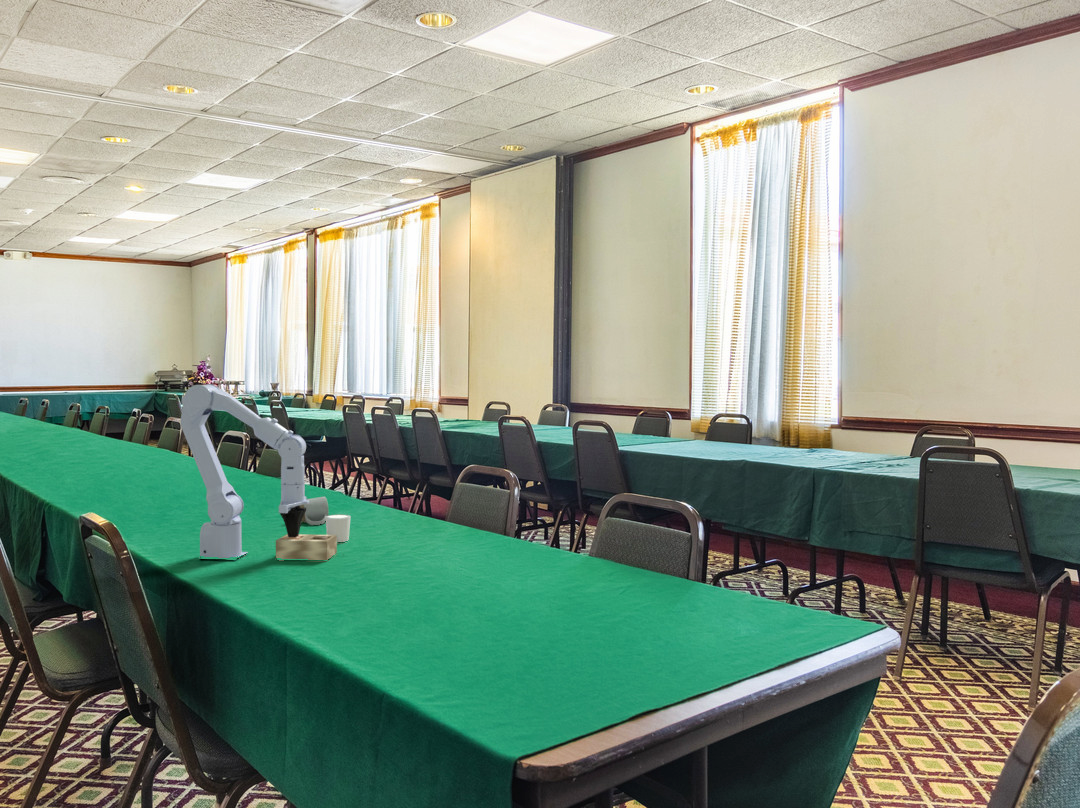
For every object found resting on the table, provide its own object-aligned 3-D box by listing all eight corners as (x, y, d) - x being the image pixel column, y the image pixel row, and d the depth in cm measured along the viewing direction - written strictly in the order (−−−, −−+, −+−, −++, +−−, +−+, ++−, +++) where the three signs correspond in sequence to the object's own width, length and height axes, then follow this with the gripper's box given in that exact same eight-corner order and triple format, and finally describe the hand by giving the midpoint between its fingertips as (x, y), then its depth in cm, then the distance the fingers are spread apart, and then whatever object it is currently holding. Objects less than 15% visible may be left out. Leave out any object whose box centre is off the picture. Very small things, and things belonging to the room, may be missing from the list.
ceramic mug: (297, 520, 265) (297, 496, 265) (324, 518, 269) (324, 494, 268) (304, 527, 256) (304, 502, 255) (331, 525, 259) (331, 500, 259)
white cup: (354, 539, 238) (354, 514, 238) (346, 544, 231) (346, 518, 231) (330, 538, 239) (330, 513, 238) (321, 543, 232) (321, 518, 232)
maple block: (275, 560, 212) (275, 540, 211) (287, 553, 219) (287, 534, 219) (327, 561, 211) (327, 541, 211) (336, 554, 219) (336, 535, 218)
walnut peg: (311, 557, 213) (310, 538, 213) (315, 554, 217) (315, 535, 217) (325, 557, 213) (325, 538, 213) (329, 554, 217) (329, 535, 216)
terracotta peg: (283, 556, 214) (283, 537, 213) (288, 553, 217) (288, 535, 217) (297, 557, 213) (297, 538, 213) (302, 553, 217) (302, 535, 217)
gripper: (298, 487, 207) (298, 543, 208) (317, 479, 221) (318, 531, 222) (270, 487, 207) (270, 542, 208) (291, 479, 222) (291, 531, 223)
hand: (293, 536), depth 215 cm, fingers closed, pressing on terracotta peg
